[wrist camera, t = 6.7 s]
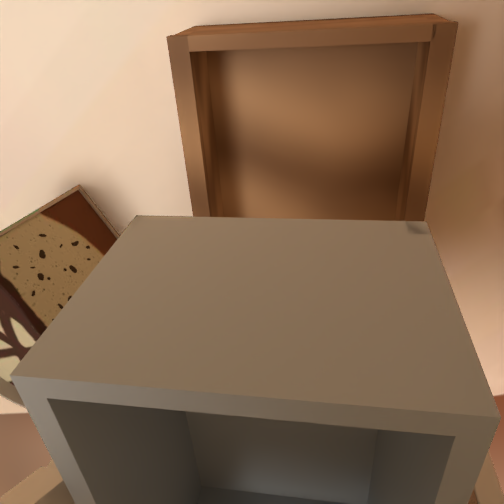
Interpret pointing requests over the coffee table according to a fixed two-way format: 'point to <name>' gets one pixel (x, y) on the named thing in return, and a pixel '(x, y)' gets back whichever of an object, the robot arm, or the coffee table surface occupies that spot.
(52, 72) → the coffee table surface
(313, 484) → the small crate
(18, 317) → the food container
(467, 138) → the coffee table surface
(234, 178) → the big crate
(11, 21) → the coffee table surface
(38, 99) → the coffee table surface
